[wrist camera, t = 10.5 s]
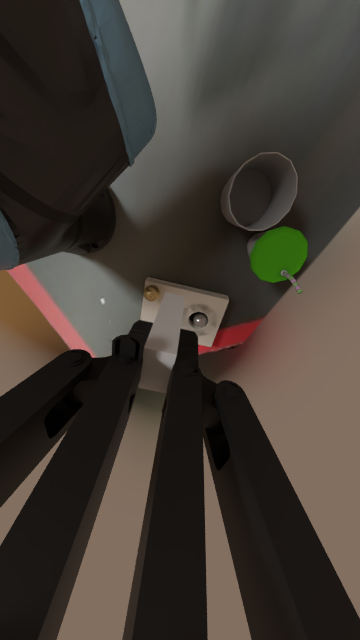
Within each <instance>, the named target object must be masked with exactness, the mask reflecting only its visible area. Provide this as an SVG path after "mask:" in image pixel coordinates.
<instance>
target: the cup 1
mask: <svg viewBox="0 0 360 640" xmlns="http://www.w3.org/2000/svg"><path fill="white" fill-rule="evenodd" d="M297 181H298V175H297V173H296V171H295V168H294V166H293V164H292V161H291V160H290V159H288V158H287V157H285V156H283V155H282V154H280V153H279V152H262V153H259V154H258V155H256V156H254V157H253V158H251V159H249V160H248V161H246V162H245V163H244V164H243V165H242V166H241V167H240V168H239V169H238V170H237V171H236V172H235V173H234V174H233V175H232V176H231V178H230V179H229V180H228V182H227V183H226V184H225V186H224V187H223V191H222V195H221V198H220V203H221V212H222V213H223V215H224V217H225V218H226V220H227V221H228V222H230V223H232V224H234V225H235V226H238V227H240V228H243V229H246V230H249V231H263V230H265V229H267V228H269V227H272V226H274V225H276V224H277V223H278V222H279V221H280V220H281V219H282V218H283V217H284V216H285V215H286V214H287V213H288V212H289V211H290V208H291V206H292V204H293V202H294V199H295V197H296V195H297Z"/></svg>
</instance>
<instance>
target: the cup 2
mask: <svg viewBox="0 0 360 640" xmlns="http://www.w3.org/2000/svg"><path fill="white" fill-rule="evenodd" d="M247 253H248V255H249V258H250V265H251V270H252V271H253V272H254V273H255V274H256V275H257V277H258V278H259V279H260V280H263V281H267V282H271V283H275V282H279V281H284V280H287V279H289V280H290V281H291V282H292V284H293V286H294V287H295V289H296V291H297V292H298V294H300V293H301V292H303V291H302V290H301V288H300V287H299V285H298V283H297V281H296V280H295V278H294V277H293V275H294V274H295V273H297V272H298V271H299V270H300V269H301V267H302V265H303V263H304V262H305V260H306V258H307V253H308V241H307V240H306V239H305V237H304V236H303V234H302V233H301V231H299V230H296V229H292V228H289V227H285V226H282V227H279V228H276V229H272V230H269V231H267V232H260V233H257V234H254V235H253V236H252V237H251V238H250V239H249V241H248V243H247Z"/></svg>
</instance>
